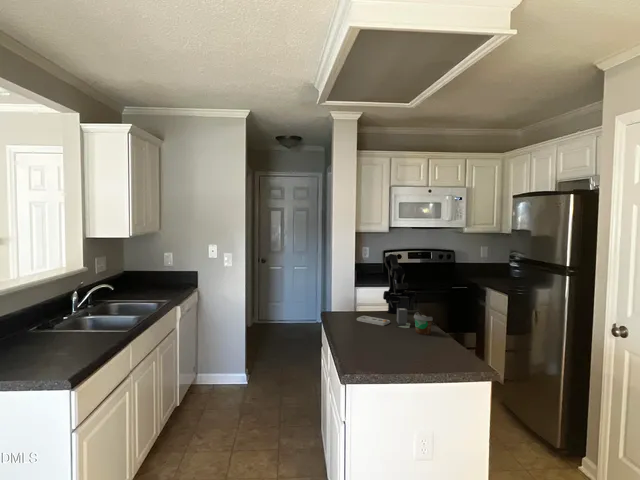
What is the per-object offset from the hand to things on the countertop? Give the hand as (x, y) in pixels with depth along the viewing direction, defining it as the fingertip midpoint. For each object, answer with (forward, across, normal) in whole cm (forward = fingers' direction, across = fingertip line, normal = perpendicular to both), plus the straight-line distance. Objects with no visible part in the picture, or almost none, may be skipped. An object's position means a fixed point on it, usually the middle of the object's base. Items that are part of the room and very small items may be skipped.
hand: (401, 307), depth 256 cm
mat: (+10, 0, +4) cm, 10 cm away
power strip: (+7, -16, +6) cm, 18 cm away
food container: (+20, +7, -7) cm, 23 cm away
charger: (+9, 0, +3) cm, 10 cm away
